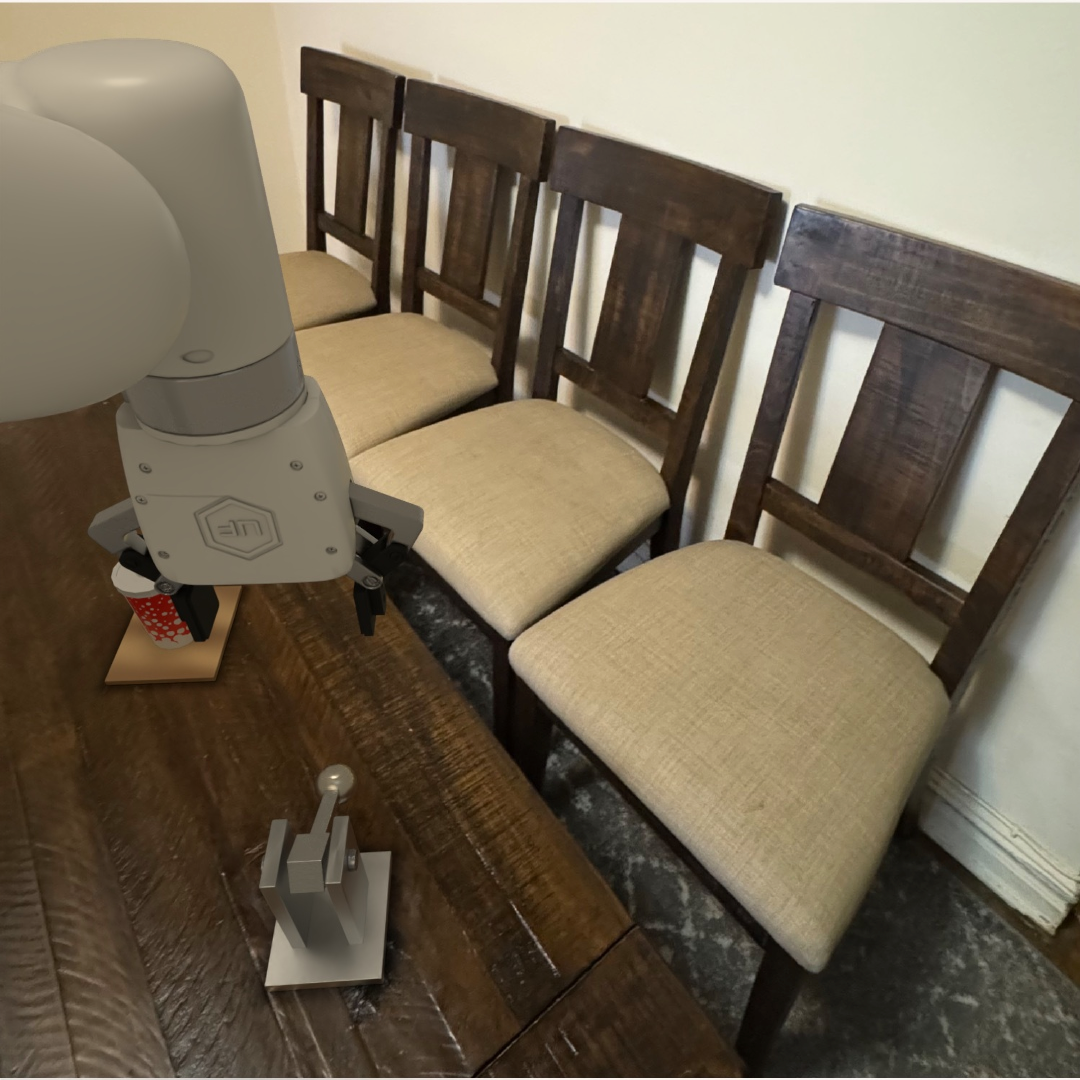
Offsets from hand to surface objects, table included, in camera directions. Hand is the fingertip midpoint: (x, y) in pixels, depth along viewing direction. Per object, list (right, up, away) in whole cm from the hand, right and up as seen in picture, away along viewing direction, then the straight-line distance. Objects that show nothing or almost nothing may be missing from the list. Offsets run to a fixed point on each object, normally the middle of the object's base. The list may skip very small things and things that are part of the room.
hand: (290, 621), depth 45 cm
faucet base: (0, -24, +10) cm, 26 cm away
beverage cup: (-21, -4, +29) cm, 36 cm away
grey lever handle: (0, -17, +8) cm, 19 cm away
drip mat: (-21, -5, +30) cm, 37 cm away
